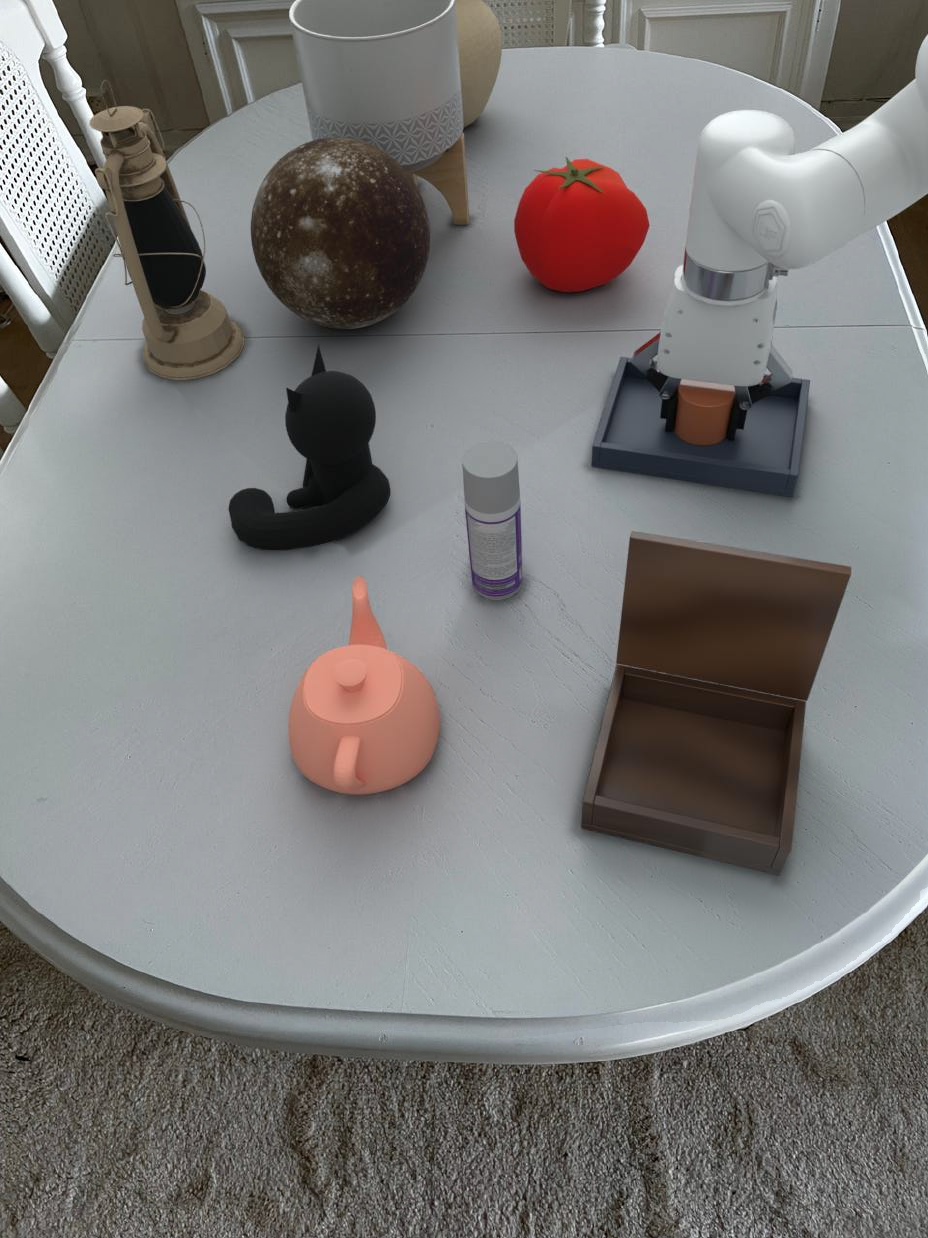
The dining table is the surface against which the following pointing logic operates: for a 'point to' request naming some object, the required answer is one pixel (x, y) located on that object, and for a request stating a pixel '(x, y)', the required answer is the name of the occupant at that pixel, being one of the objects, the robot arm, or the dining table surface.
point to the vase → (477, 55)
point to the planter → (388, 83)
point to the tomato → (579, 226)
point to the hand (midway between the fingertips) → (701, 425)
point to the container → (493, 518)
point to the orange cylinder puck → (703, 411)
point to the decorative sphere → (340, 233)
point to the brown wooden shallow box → (697, 768)
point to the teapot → (363, 712)
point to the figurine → (320, 468)
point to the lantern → (161, 251)
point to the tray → (746, 463)
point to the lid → (728, 614)
